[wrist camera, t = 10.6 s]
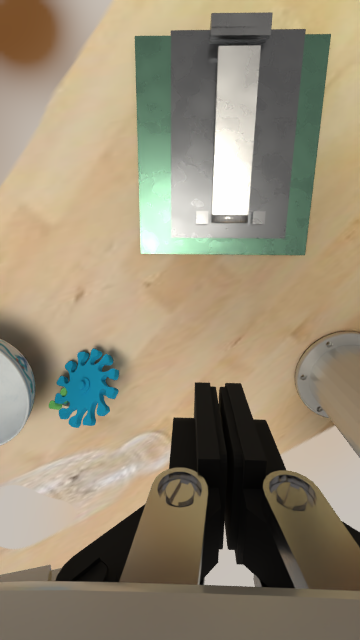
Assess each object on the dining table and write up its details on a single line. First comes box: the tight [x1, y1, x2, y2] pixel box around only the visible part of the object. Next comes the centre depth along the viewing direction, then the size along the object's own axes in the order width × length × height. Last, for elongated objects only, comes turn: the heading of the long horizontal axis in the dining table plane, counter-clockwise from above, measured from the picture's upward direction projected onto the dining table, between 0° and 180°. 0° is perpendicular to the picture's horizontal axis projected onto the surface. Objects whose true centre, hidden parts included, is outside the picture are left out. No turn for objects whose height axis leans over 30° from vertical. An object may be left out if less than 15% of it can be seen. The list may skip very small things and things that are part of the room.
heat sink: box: [135, 13, 331, 255], centre depth 31 cm, size 20×22×8 cm
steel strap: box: [211, 45, 261, 223], centre depth 29 cm, size 4×14×1 cm, turn 0°
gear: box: [49, 348, 119, 428], centre depth 41 cm, size 11×6×10 cm
